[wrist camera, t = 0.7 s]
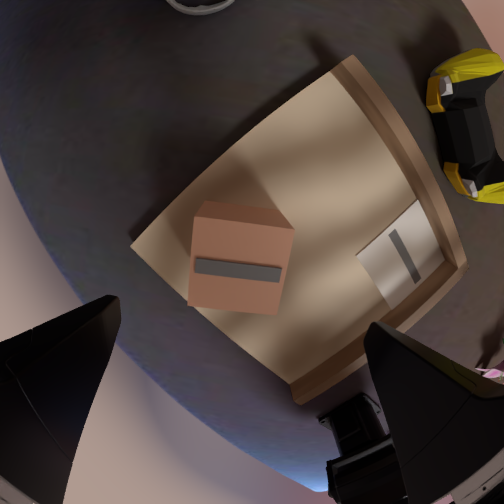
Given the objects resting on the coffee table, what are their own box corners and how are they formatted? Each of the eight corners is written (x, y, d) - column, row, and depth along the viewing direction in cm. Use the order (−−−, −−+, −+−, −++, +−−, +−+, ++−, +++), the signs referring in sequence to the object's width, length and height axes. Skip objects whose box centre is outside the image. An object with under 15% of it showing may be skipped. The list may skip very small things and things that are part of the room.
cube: (279, 210, 18) (295, 230, 13) (267, 278, 20) (276, 316, 15) (205, 200, 18) (193, 217, 13) (198, 269, 19) (187, 307, 14)
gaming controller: (466, 55, 14) (402, 56, 15) (502, 47, 9) (441, 39, 10) (499, 189, 19) (447, 218, 20) (535, 201, 14) (487, 236, 15)
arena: (450, 257, 21) (469, 268, 19) (295, 383, 25) (300, 405, 22) (337, 66, 16) (353, 54, 13) (133, 243, 19) (119, 257, 16)
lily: (476, 340, 28) (486, 394, 22) (529, 317, 23) (542, 367, 17) (466, 361, 34) (472, 405, 28) (512, 342, 29) (521, 385, 23)
